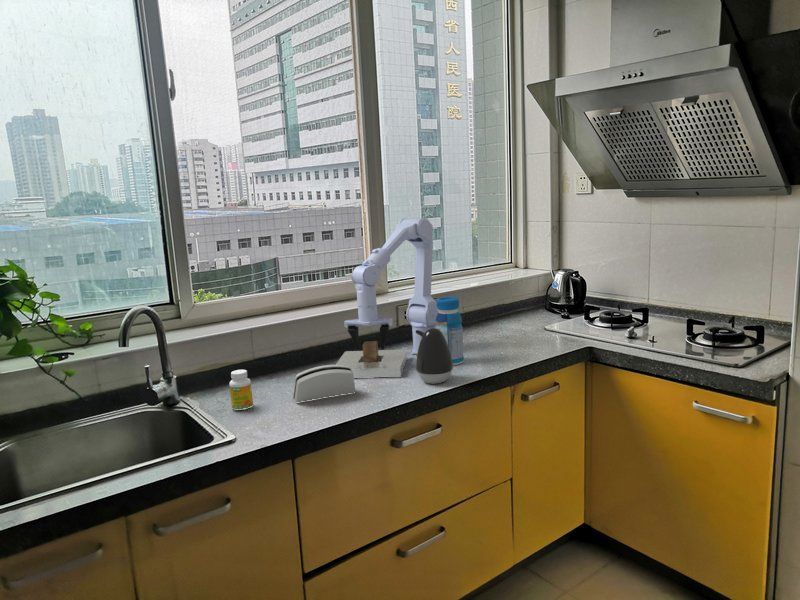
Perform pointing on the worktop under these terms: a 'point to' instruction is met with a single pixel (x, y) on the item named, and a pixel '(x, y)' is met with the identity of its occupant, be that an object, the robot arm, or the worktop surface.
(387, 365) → the grey flat square slab
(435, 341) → the pump dispenser
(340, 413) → the worktop surface
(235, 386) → the supplement bottle
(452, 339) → the beverage bottle
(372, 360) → the wedge peg
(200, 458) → the worktop surface
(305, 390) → the napkin holder
